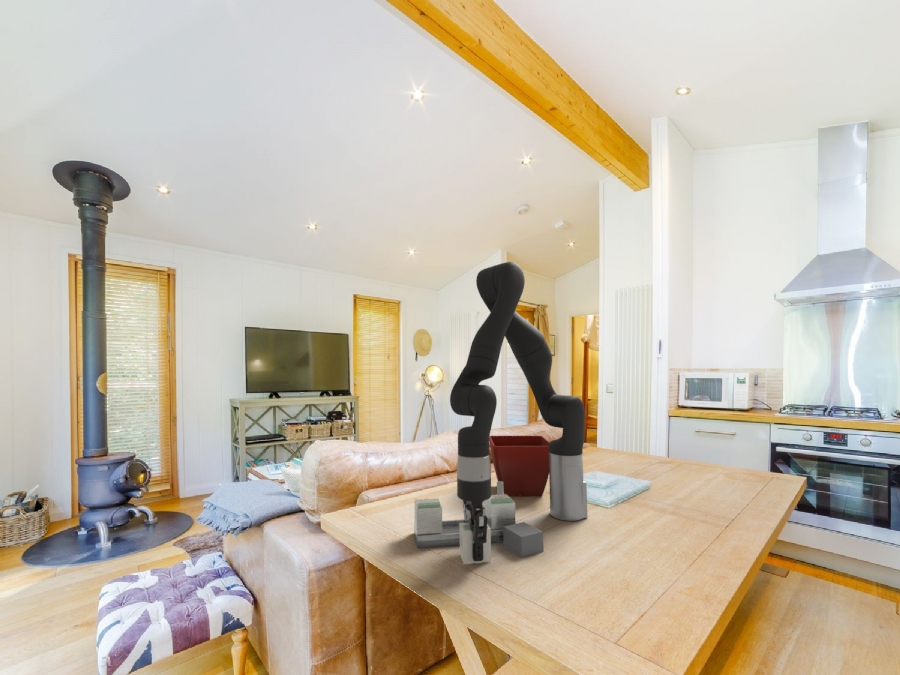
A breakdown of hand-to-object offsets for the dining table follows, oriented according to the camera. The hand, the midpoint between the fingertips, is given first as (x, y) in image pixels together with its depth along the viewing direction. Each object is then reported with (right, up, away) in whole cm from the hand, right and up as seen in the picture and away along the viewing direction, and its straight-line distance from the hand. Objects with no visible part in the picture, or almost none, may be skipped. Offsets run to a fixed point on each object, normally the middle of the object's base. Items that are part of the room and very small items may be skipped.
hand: (475, 554), depth 92 cm
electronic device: (+6, -3, +28) cm, 29 cm away
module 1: (0, -1, 0) cm, 1 cm away
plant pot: (+18, -4, +48) cm, 52 cm away
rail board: (-2, -2, +12) cm, 12 cm away
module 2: (+11, -1, +5) cm, 12 cm away
